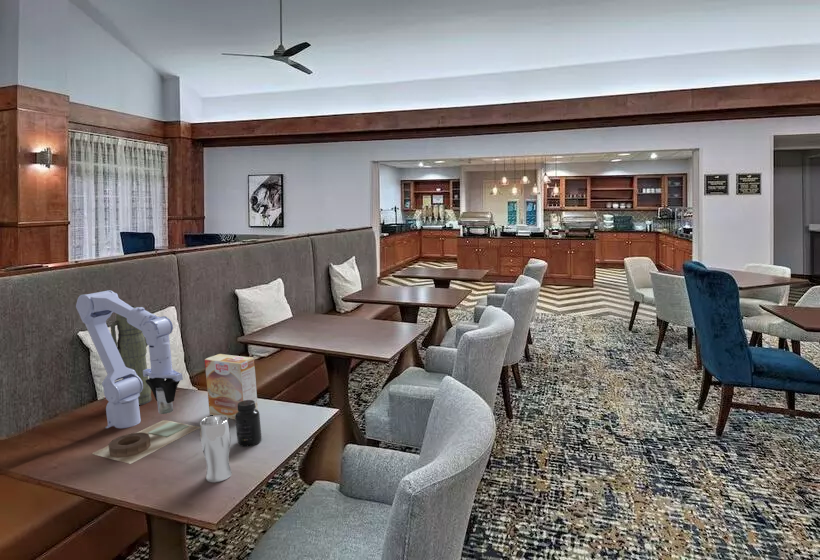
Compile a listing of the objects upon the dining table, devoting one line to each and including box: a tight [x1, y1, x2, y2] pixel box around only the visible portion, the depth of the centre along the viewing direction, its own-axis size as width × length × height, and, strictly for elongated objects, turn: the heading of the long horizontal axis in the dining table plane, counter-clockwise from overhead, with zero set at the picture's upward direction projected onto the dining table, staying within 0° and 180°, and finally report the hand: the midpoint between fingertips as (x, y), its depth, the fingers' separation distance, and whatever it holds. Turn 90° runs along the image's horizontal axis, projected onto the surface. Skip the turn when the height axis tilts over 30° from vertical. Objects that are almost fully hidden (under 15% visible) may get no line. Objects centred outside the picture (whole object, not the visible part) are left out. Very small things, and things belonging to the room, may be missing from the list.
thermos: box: [110, 305, 152, 406], centre depth 177 cm, size 9×12×35 cm
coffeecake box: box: [204, 353, 259, 420], centre depth 164 cm, size 15×7×20 cm, turn 67°
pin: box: [156, 385, 174, 415], centre depth 151 cm, size 4×4×8 cm
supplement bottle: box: [234, 400, 263, 448], centre depth 144 cm, size 7×7×12 cm
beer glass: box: [199, 415, 233, 483], centre depth 125 cm, size 7×7×15 cm
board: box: [91, 419, 200, 465], centre depth 146 cm, size 16×24×4 cm, turn 156°
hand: (165, 400), depth 151 cm, fingers closed on pin, 4 cm apart
